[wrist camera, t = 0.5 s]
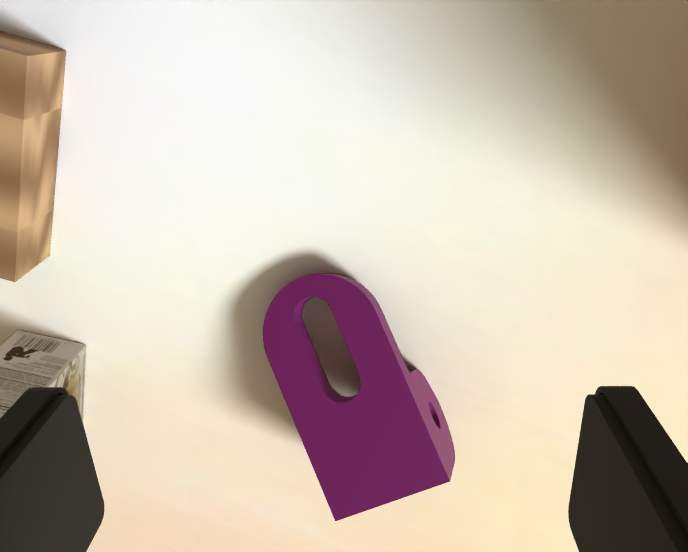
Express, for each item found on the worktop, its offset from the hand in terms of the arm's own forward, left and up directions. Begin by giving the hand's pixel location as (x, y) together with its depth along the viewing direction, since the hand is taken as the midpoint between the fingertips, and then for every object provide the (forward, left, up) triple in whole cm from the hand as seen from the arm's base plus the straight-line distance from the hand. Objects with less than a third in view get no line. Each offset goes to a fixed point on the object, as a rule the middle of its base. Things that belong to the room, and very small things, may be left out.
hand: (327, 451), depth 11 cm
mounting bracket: (+19, +5, -35) cm, 40 cm away
